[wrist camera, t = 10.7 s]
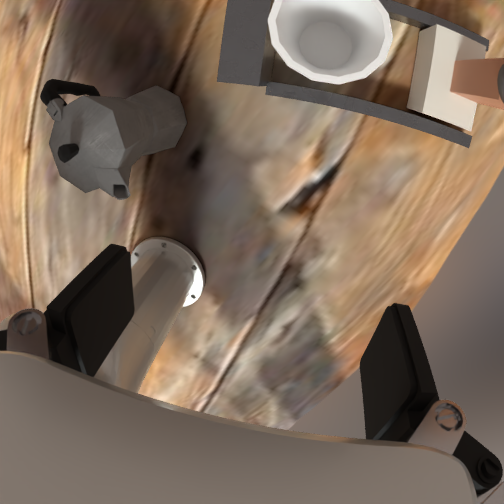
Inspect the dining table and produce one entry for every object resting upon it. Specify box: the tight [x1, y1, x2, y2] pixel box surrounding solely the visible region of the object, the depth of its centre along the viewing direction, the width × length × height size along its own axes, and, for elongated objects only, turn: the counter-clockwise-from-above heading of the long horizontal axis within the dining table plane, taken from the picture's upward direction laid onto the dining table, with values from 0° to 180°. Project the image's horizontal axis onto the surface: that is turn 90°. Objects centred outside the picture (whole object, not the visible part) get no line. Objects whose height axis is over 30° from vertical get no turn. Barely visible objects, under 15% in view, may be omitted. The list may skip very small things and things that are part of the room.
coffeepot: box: [40, 79, 187, 200], centre depth 30 cm, size 15×9×18 cm, turn 37°
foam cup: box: [268, 0, 393, 84], centre depth 24 cm, size 10×9×13 cm
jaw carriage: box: [407, 24, 504, 131], centre depth 21 cm, size 10×6×18 cm, turn 173°
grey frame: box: [217, 0, 489, 148], centre depth 26 cm, size 14×28×8 cm, turn 83°
